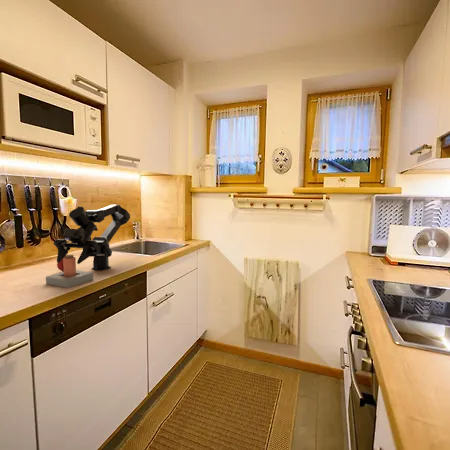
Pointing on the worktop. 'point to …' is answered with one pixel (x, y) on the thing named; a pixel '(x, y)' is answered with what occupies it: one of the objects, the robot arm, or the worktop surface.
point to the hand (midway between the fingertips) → (67, 262)
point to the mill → (69, 266)
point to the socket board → (69, 279)
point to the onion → (60, 265)
